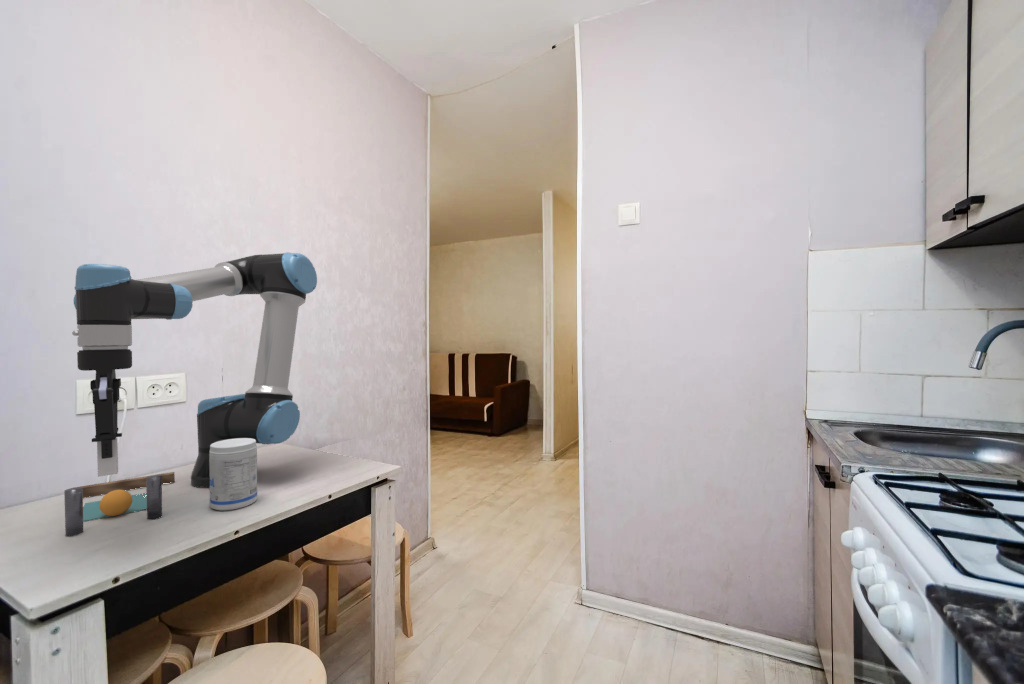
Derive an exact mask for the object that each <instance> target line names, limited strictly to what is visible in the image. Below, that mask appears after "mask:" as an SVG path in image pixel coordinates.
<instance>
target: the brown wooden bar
mask: <svg viewBox="0 0 1024 684" xmlns="http://www.w3.org/2000/svg"><path fill="white" fill-rule="evenodd" d="M152 475H153V474H152ZM152 475H150V476H152ZM156 475H161V479H162V484H163V483H170V482H176V481H175V479H176V478H175V471H170V472H165V473H159V474H156ZM148 476H149V475H146V476H145V475H144V476H138V477H134V478H132V477H131V478H125V479H121V480H119V479H118V480H113V481H108V482H107V481H105V482H101V483H94V484H88V485H82V486H79V487H82V488H83V497H86V498H90V497H89V496H92V497H95V496H94V495H98V496H102V495H101V494H104V495H106V494H107V493H109V492H111V491H114V490H128V491H131V490H130V489H134V490H136V489H135V488H140V487H146V477H148ZM170 484H171V483H170ZM75 487H76V486H75ZM75 487H73V488H75ZM140 489H141V488H140Z"/></svg>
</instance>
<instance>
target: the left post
mask: <svg viewBox="0 0 1024 684" xmlns="http://www.w3.org/2000/svg"><path fill="white" fill-rule="evenodd" d="M63 493H64V525H65V526H64V527H65V529H64V530H65V532H64V534H65V537H66V538H67V537H74V536H78V535H81V534H82V533H84V522H83V507H84V500H83V499H84V498H83V488H82V487H80V486H75V488H74V487H71V488H66V489H65V490H64V492H63Z"/></svg>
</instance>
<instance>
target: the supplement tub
mask: <svg viewBox="0 0 1024 684" xmlns="http://www.w3.org/2000/svg"><path fill="white" fill-rule="evenodd" d="M257 447H258V446H257V443H256V440H255V439H252V438H235V439H227V440H222V441H218V442H215V443H212V444H211V445H210V451H209V452H210V453H209V466H210V487H209V506H210V507H211V509H213V510H216V511H231V510H233V511H234V510H237V509H241V508H244V507H247V506H249V505H251V504H253V503H255V501H257V499H258V455H257V454H258V448H257Z"/></svg>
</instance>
